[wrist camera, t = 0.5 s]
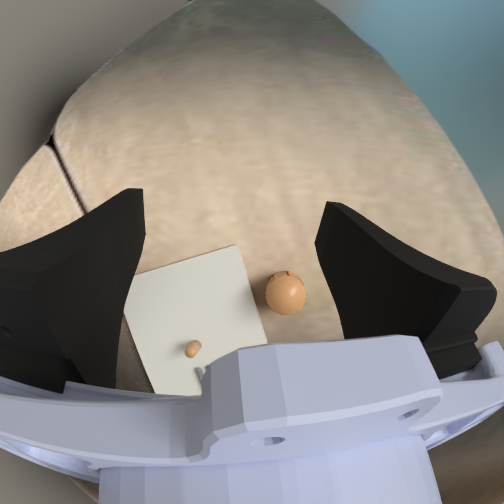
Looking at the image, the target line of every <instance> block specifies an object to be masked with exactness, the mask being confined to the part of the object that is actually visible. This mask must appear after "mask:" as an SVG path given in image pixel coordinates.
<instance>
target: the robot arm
mask: <svg viewBox="0 0 504 504" xmlns="http://www.w3.org/2000/svg"><path fill="white" fill-rule="evenodd" d="M145 235H146V232H145V219H144V203H143V189H136V188H128V189H125V190H123V191H121V192H120V193H118V194H117V195H115V196H113V197H112V198H110V199H109V200H107V201H106V202H104V203H103V204H101V205H100V206H98V207H97V208H95V209H93V210H92V211H90V212H89V213H87V214H85V215H84V216H82V217H81V218H79V219H77V220H76V221H74V222H72V223H70V224H68V225H66V226H65V227H63V228H61V229H59V230H57V231H55V232H53V233H50V234H48V235H46V236H44V237H41V238H39V239H37V240H35V241H32V242H30V243H27V244H24V245H22V246H19V247H16V248H13V249H10V250H7V251H4V252H0V447H1V448H3V449H5V450H7V451H9V452H11V453H13V454H15V455H18V456H20V457H22V458H25V459H27V460H29V461H32V462H34V463H37V464H39V465H42V466H44V467H47V468H50V469H53V470H55V471H58V472H61V473H64V474H67V475H71V476H74V477H77V478H81V479H84V480H88V481H91V482H95V483H99V504H442V501H441V498H440V494H439V490H438V486H437V483H436V479H435V476H434V472H433V469H432V466H431V462H430V459H429V456H428V453H427V450H429V449H431V448H433V447H436V446H438V445H440V444H442V443H444V442H446V441H448V440H449V439H451V438H453V437H455V436H457V435H459V434H461V433H463V432H464V431H466V430H468V429H470V428H472V427H473V426H475V425H477V424H479V423H480V422H482V421H483V420H485V419H486V418H488V417H489V416H490V415H492V414H493V413H494V412H496V411H497V410H498V409H499V408H501V407H502V406H503V405H504V351H503V349H502V348H501V346H500V344H499V342H498V341H494V342H491V343H488V344H485V345H483V346H481V347H480V348H478V349H477V348H476V346H475V344H474V343H475V342H476V341H477V340H478V337H477V335H476V334H475V330H476V329H477V328H478V327H479V325H480V324H481V323H482V322H483V320H484V319H485V318H486V316H487V315H488V314H489V312H490V311H491V309H492V308H493V305H494V303H495V301H496V297H497V290H496V288H495V287H494V286H493V284H492V283H491V282H490V281H489V280H488V279H486V278H484V277H481V276H478V275H475V274H472V273H469V272H465V271H463V270H460V269H457V268H455V267H452V266H450V265H447V264H445V263H443V262H440V261H438V260H436V259H434V258H432V257H430V256H428V255H425V254H423V253H422V252H420V251H418V250H416V249H414V248H412V247H411V246H409V245H407V244H405V243H403V242H402V241H400V240H398V239H397V238H395V237H394V236H392V235H391V234H389V233H388V232H386V231H384V230H383V229H381V228H380V227H378V226H377V225H375V224H374V223H373V222H371V221H370V220H368V219H367V218H365V217H364V216H362V215H361V214H359V213H358V212H356V211H355V210H353V209H351V208H350V207H348V206H346V205H344V204H342V203H337V202H329V201H327V202H326V205H325V209H324V212H323V216H322V219H321V223H320V226H319V230H318V233H317V236H316V240H315V247H316V252H317V256H318V260H319V263H320V266H321V269H322V271H323V274H324V276H325V279H326V281H327V284H328V286H329V289H330V291H331V294H332V296H333V299H334V301H335V304H336V307H337V310H338V313H339V317H340V321H341V325H342V329H343V334H344V339H342V340H328V341H309V342H282V343H267V344H261V345H255V346H248V347H241V348H238V349H236V350H234V351H232V352H230V353H228V354H226V355H224V356H222V357H220V358H218V359H216V360H214V361H213V362H211V363H210V365H209V367H208V368H207V370H206V372H205V373H204V375H203V377H202V394H201V395H193V396H183V395H166V394H154V393H143V392H134V391H126V390H118V389H115V385H116V366H117V354H118V345H119V337H120V329H121V323H122V317H123V311H124V307H125V303H126V299H127V296H128V293H129V289H130V286H131V283H132V280H133V277H134V275H135V272H136V269H137V266H138V263H139V260H140V257H141V254H142V249H143V245H144V240H145Z"/></svg>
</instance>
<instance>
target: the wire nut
mask: <svg viewBox="0 0 504 504" xmlns="http://www.w3.org/2000/svg"><path fill="white" fill-rule="evenodd" d="M265 295H266V300H267V303H268V306H269V307H270V309H272V310H273V311H274V312H276V313H278V314H280V315H291V314H294V313H296V312H297V311H299V310H300V309H301V308H302V306H303V305H304V303H305V300H306V292H305V288H304V285H303V282H302V281H301V279H300V278H299V277H298V276H296V275H295V274H293V273H291V272H289V271H288V272H287V273H286V271H283V272H280V273H276V274H274V276H272V277H271V279H270V281H269V282H268V284H267V286H266V291H265Z"/></svg>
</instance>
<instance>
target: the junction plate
mask: <svg viewBox="0 0 504 504" xmlns="http://www.w3.org/2000/svg"><path fill="white" fill-rule="evenodd" d="M124 314H125V317H126V320H127V322H128V325H129V328H130V331H131V334H132V337H133V339H134V342H135V345H136V347H137V350H138V353H139V355H140V358H141V360H142V363H143V365H144V368H145V370H146V372H147V375H148V377H149V380H150V382H151V384H152V387H153V389H154V391H155V393H156V394H166V395H183V396H193V395H201V394H202V377H203V375H204V373H205V372H206V370H207V368H208V367H209V365H210V363H211V362H213V361H214V360H216V359H218V358H220V357H222V356H224V355H226V354H228V353H230V352H232V351H234V350H236V349H238V348H241V347H248V346H255V345H261V344H267V343H268V342H267V339H266V335H265V332H264V329H263V325H262V322H261V319H260V315H259V312H258V309H257V306H256V302H255V299H254V296H253V292H252V289H251V286H250V282H249V279H248V275H247V272H246V269H245V265H244V262H243V259H242V255H241V252H240V248H239V245H238V244H237V245H234V246H230V247H227V248H224V249H220V250H217V251H214V252H210V253H207V254H204V255H201V256H197V257H194V258H191V259H187V260H184V261H181V262H177V263H174V264H171V265H168V266H164V267H161V268H158V269H155V270H151V271H148V272H145V273H142V274H138V275H135V276H134V277H133V280H132V283H131V286H130V289H129V293H128V296H127V299H126V303H125V307H124Z"/></svg>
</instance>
